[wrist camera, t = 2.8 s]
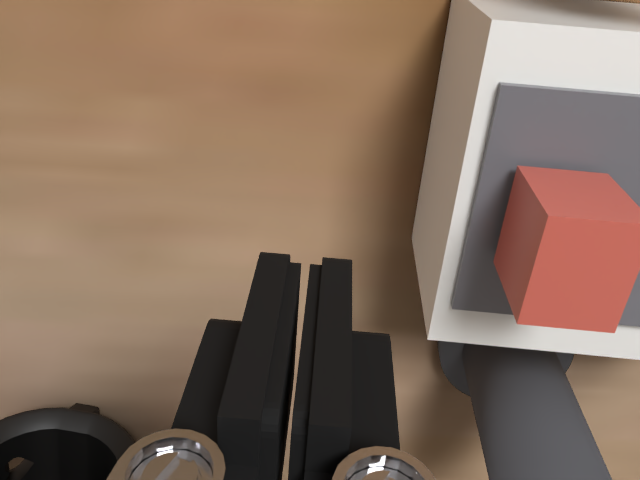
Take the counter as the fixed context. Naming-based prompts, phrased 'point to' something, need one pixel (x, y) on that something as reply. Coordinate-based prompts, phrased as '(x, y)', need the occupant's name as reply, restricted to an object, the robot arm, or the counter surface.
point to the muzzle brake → (61, 444)
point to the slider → (568, 249)
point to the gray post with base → (524, 412)
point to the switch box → (521, 153)
